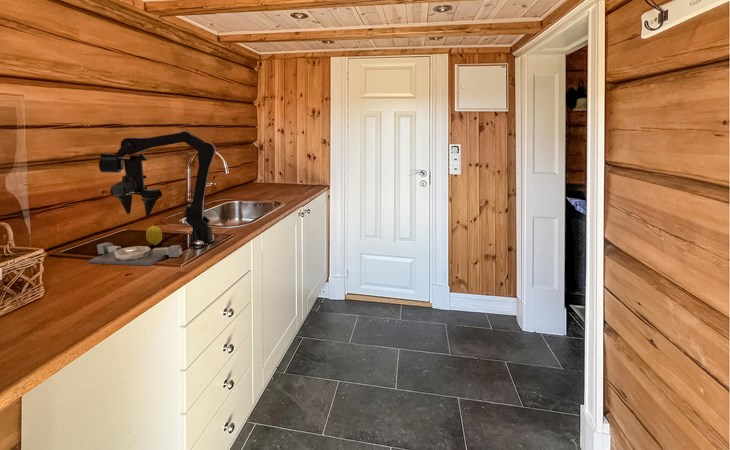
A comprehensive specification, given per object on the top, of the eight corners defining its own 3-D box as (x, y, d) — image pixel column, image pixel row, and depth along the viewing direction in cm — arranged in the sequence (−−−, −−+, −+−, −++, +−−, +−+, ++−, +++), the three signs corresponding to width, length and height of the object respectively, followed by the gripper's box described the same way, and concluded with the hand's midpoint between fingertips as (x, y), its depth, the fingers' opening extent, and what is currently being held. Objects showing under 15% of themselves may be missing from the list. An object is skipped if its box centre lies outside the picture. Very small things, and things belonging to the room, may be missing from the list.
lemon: (148, 244, 157) (146, 224, 155) (164, 243, 159) (162, 223, 157) (146, 248, 152) (143, 227, 150) (162, 246, 154) (159, 226, 152)
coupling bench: (186, 253, 146) (185, 244, 145) (162, 266, 132) (161, 256, 131) (107, 250, 150) (106, 241, 149) (76, 262, 136) (75, 252, 135)
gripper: (94, 173, 141) (99, 216, 145) (135, 176, 136) (139, 221, 139) (121, 170, 152) (125, 211, 155) (161, 173, 146) (164, 215, 150)
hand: (138, 214), depth 150 cm, fingers open, 9 cm apart
